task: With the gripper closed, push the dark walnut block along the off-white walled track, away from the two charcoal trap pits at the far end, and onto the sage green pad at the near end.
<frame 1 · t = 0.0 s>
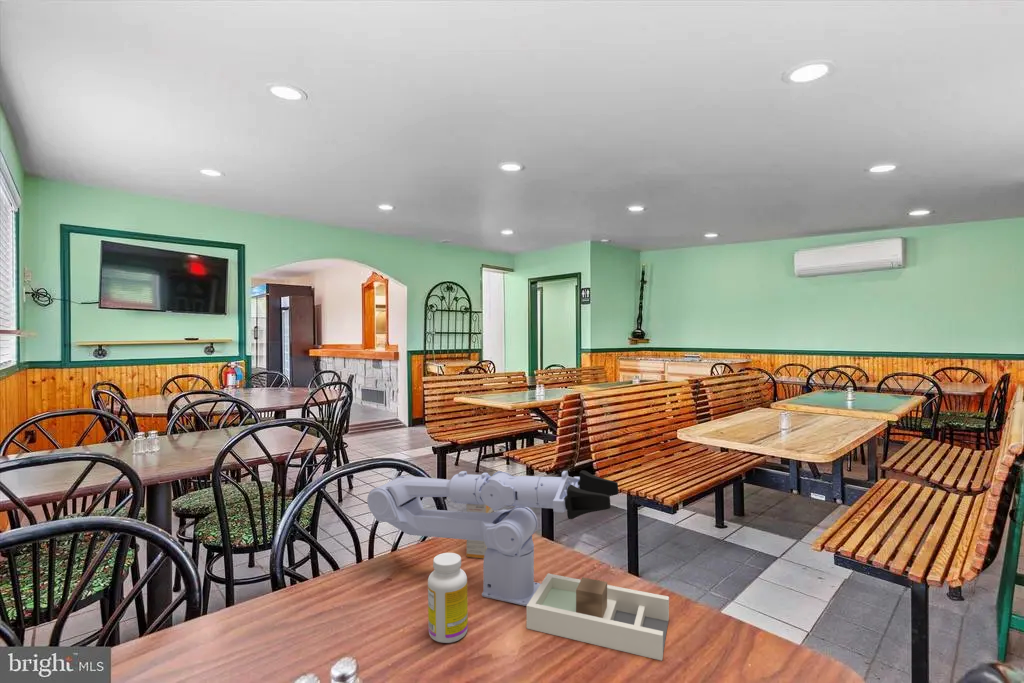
hand: (614, 495, 91), 22 cm above the table, tool horizontal, fingers open, 7 cm apart
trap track: (598, 623, 89), on the table
walnut block: (591, 610, 89), point 2 cm above the table, touching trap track
supplement bottle: (448, 633, 86), on the table
supplement box: (481, 551, 117), on the table
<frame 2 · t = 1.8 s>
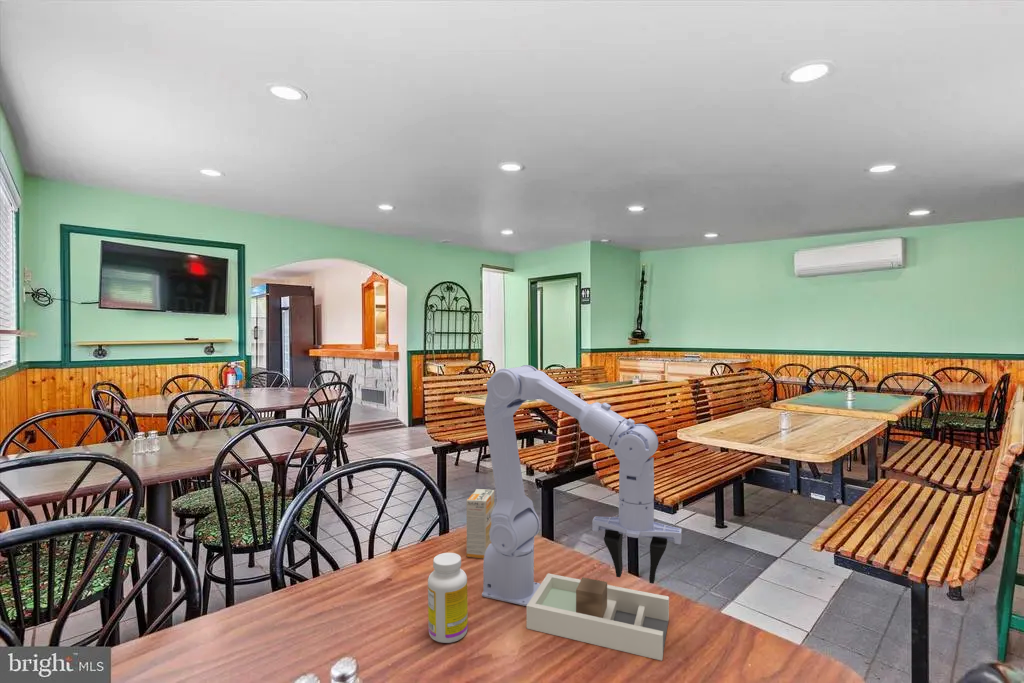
hand: (635, 577, 86), 9 cm above the table, tool pointing down, fingers open, 5 cm apart
nothing on the table moved.
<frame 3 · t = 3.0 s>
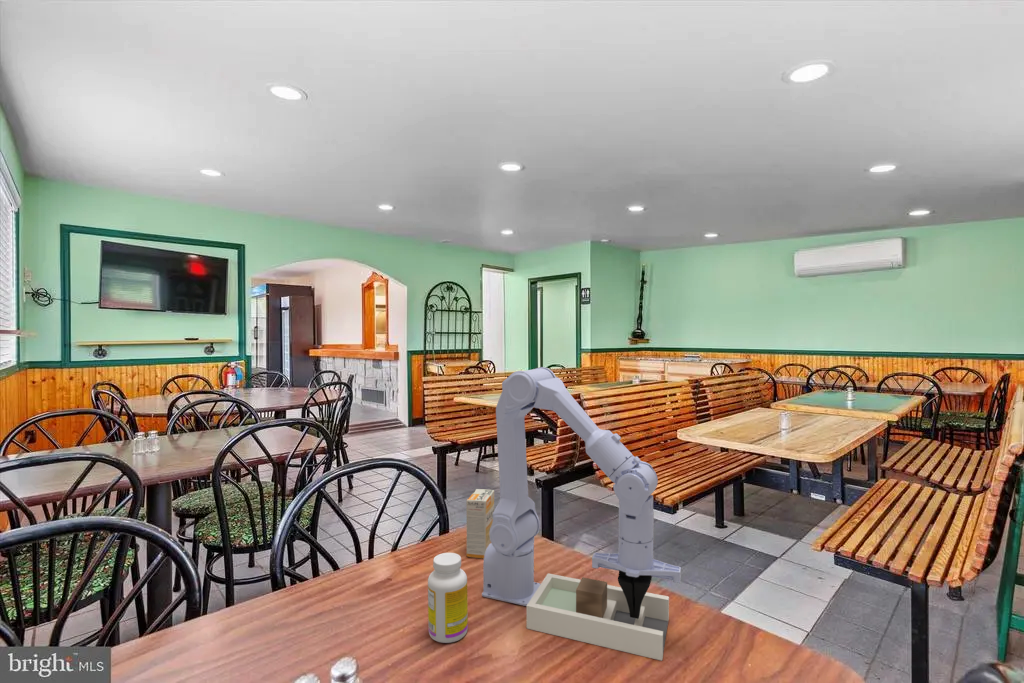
hand: (635, 614, 86), 3 cm above the table, tool pointing down, fingers closed
nothing on the table moved.
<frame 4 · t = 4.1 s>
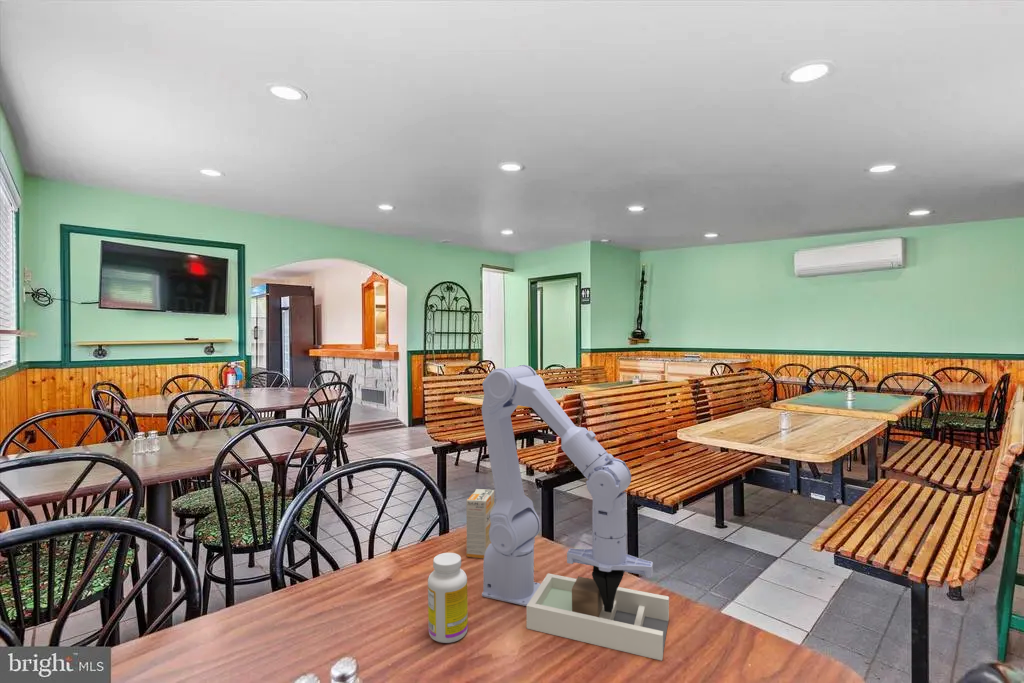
hand: (608, 609, 88), 3 cm above the table, tool pointing down, fingers closed
walnut block: (587, 609, 89), point 2 cm above the table, touching gripper
everything else where it was.
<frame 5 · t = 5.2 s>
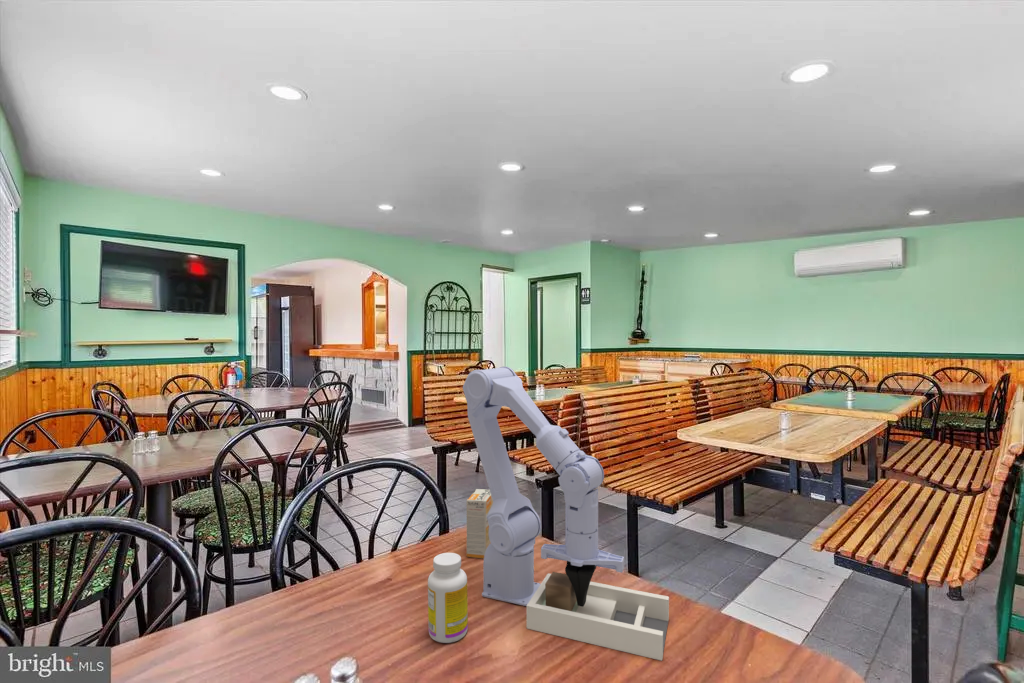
hand: (581, 603, 90), 3 cm above the table, tool pointing down, fingers closed
walnut block: (561, 604, 91), point 2 cm above the table, touching gripper, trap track
everything else where it was.
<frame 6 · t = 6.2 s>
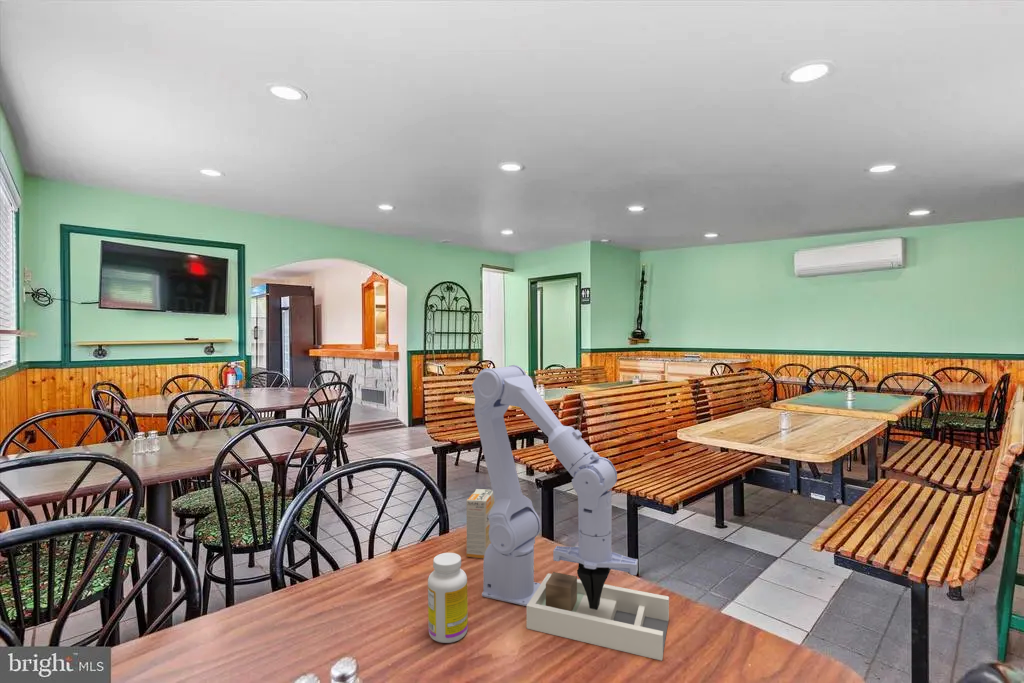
hand: (594, 606, 89), 3 cm above the table, tool pointing down, fingers closed
walnut block: (561, 604, 91), point 2 cm above the table, touching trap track
everything else where it was.
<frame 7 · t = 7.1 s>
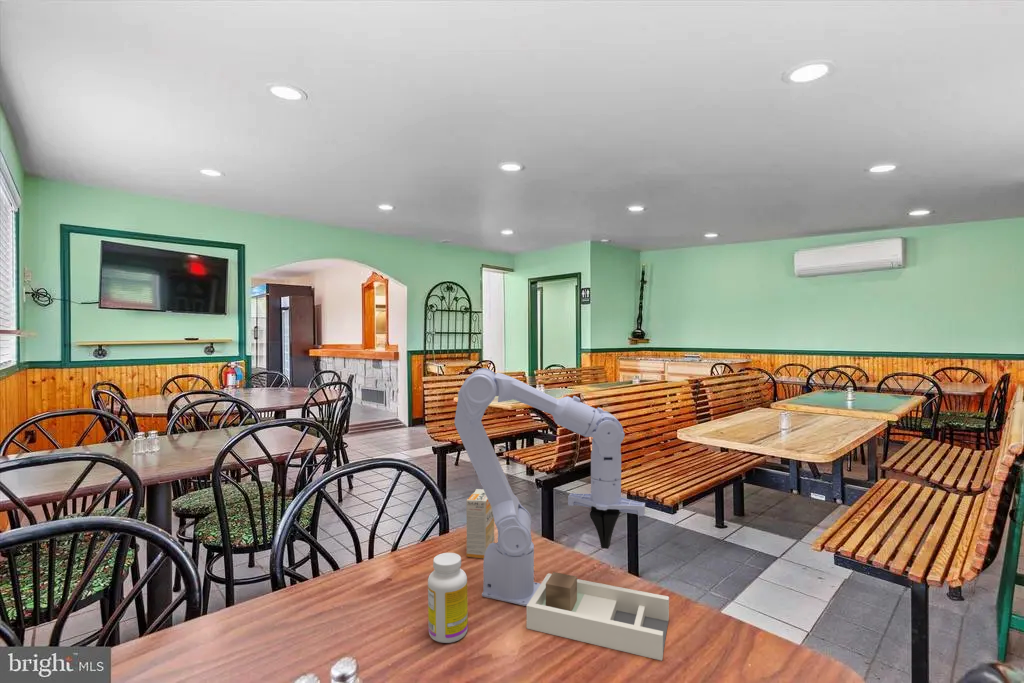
hand: (605, 546, 98), 9 cm above the table, tool pointing down, fingers closed
nothing on the table moved.
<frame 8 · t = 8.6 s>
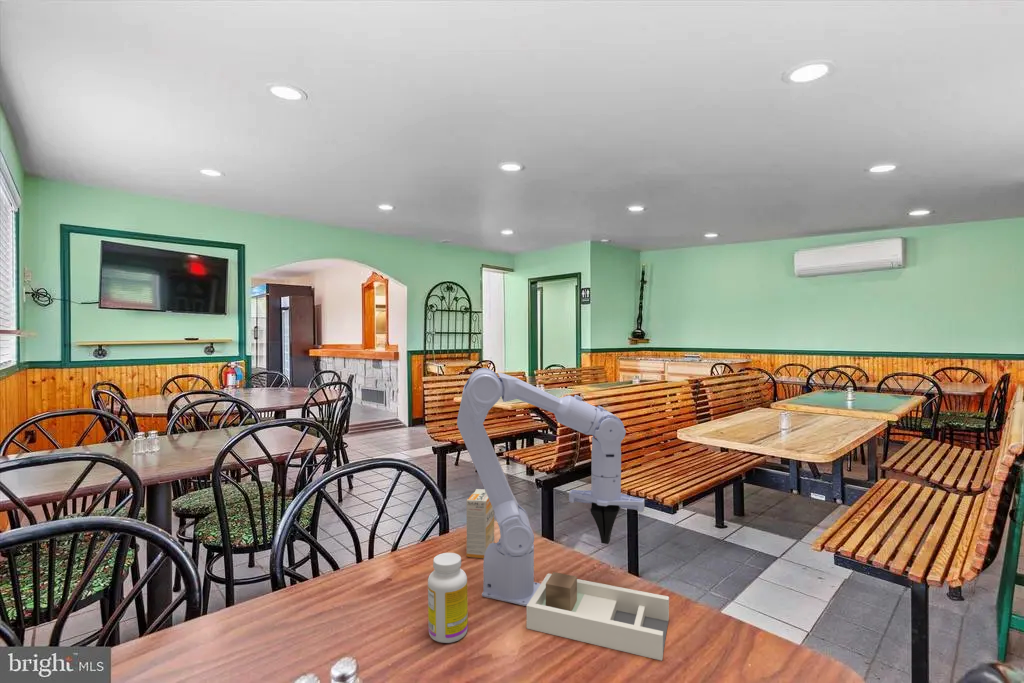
hand: (605, 541, 100), 9 cm above the table, tool pointing down, fingers closed
nothing on the table moved.
at the end: walnut block 0.3 cm from the target spot, point 2.0 cm above the table; walnut block tilted 0°; walnut block moved 5.5 cm from its start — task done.
